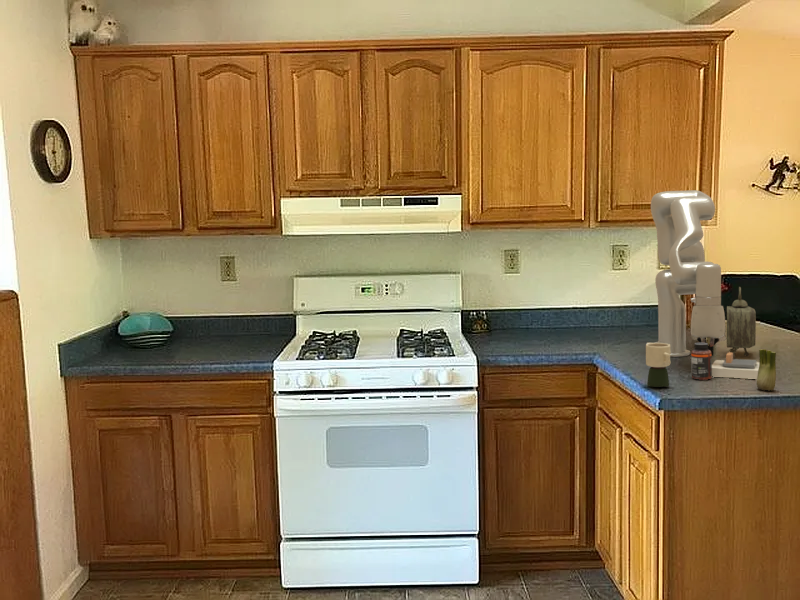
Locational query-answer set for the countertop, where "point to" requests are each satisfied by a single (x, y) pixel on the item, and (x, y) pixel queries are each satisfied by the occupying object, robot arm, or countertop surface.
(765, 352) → the fennel bulb
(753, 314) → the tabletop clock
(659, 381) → the character mug
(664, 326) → the robot arm
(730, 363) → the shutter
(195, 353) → the countertop surface
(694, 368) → the supplement bottle
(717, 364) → the socket block
